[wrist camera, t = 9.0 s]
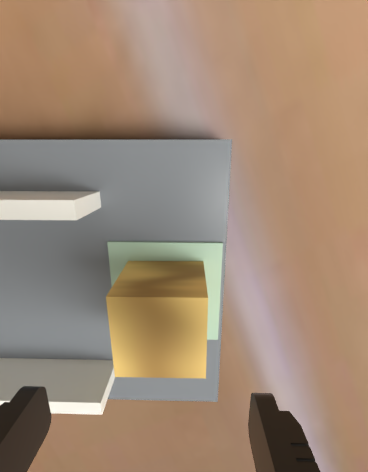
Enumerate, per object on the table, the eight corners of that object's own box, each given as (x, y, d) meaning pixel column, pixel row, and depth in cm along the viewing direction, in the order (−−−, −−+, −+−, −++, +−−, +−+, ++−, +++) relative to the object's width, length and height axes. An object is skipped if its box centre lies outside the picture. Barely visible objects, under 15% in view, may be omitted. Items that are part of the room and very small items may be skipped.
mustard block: (203, 261, 16) (208, 297, 12) (202, 325, 18) (206, 378, 13) (128, 260, 16) (106, 296, 12) (133, 324, 18) (114, 377, 13)
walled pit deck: (224, 142, 17) (245, 133, 11) (214, 371, 23) (223, 449, 17) (-139, 143, 18) (-319, 133, 11) (-58, 365, 23) (-147, 439, 17)
